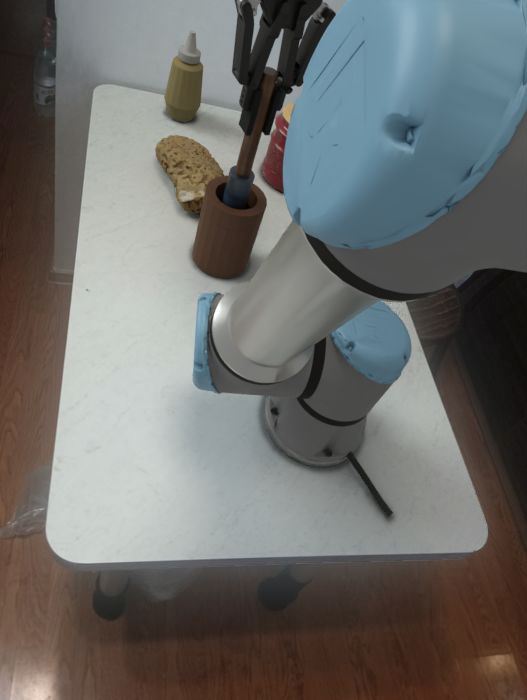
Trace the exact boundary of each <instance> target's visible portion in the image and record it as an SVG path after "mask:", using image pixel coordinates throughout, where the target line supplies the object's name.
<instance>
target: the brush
mask: <svg viewBox="0 0 527 700" xmlns="http://www.w3.org/2000/svg"><path fill="white" fill-rule="evenodd" d="M277 77H278V72H277V69H275V68H273V67H272V66H267V65H266V67H265V69H264V72H263V75H262V77H261V80H260V83H259V86H258V87H259V88H260V89H261V91H262V94H261V98H260V102H259V105H258V109H257V113H256V117H255V121H254V124H253V128H252V132H251V136H246V135H245V134H244V133H243V137H242V141H241V146H240V150H239V153H238V158H237V161H236V165H233V166H231V167H230V169H229V171H228V175H227V176H228V179H227V183H226V187H225V192H224V196H223V200H222V203H223V204H225V205H226V206H228V207H231V208H234V209H238V210H245V209H246V206H247V202H248V199H249V195H250V192H251V189H252V185H253V184H254V181H255V178H256V174H255V172H254V171H253V165H254V162H255V160H256V159H255V158H256V156H257V151H258V149H259V145H260V141H261V137H262V134H263V132H262V131H263V127H264V124H265V120H266V116H267V113H268V109H269V106H270V102H271V99H272V95H273V92H274V88H275V84H276V81H277Z"/></svg>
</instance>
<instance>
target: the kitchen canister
mask: <svg viewBox="0 0 527 700" xmlns="http://www.w3.org/2000/svg"><path fill="white" fill-rule="evenodd" d="M294 105H295V102H290V103H288V104H286V105H284V107H282V112H280V113H279V114H277V116H275V119H274V125H275V128H274V129H273V130H272V131H271V132H270V139H269V143H268V146H267V150H266V154H265V156H264V158H263V161H262V165H261V167H262V168H261V174H262V176H263V178H264V180H265V181H266V182H267V184H269V186H271V187H272V188H274V189H275V190H277V191H279V192H281V193H283V194H284V187H283V159H284V150H285V142H286V137H287V131H288V127H289V122H290V118H291V114H292V110H293V107H294Z"/></svg>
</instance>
